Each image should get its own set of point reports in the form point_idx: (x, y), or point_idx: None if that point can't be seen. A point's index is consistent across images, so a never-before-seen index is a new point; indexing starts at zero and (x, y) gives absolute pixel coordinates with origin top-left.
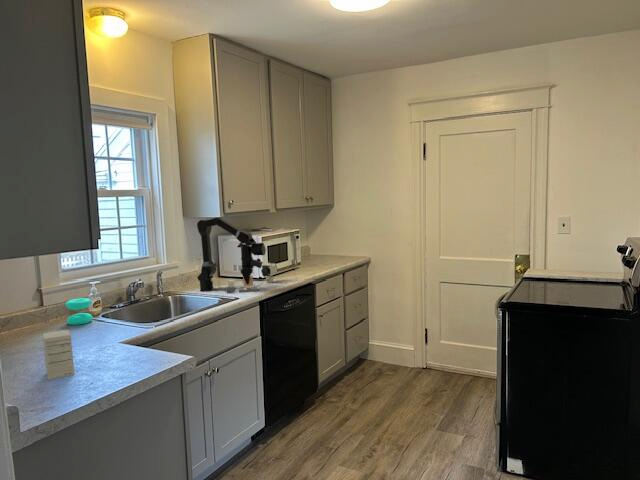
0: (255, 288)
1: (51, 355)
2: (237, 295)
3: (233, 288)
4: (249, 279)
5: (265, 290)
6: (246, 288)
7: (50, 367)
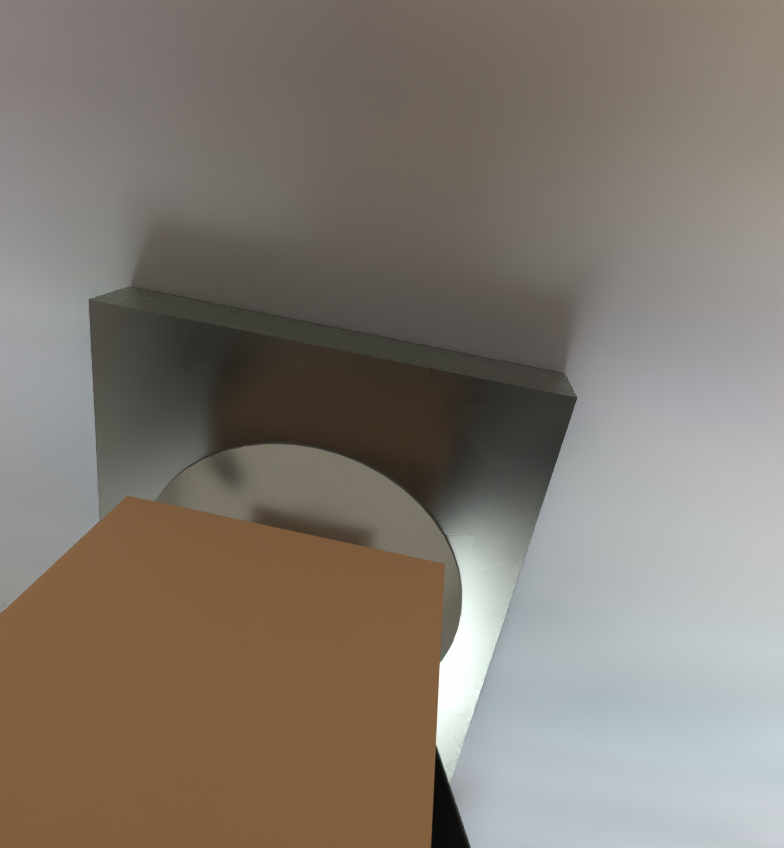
0: (415, 427)
1: None
2: (751, 822)
3: None
4: None
5: (552, 75)
6: None
7: None
